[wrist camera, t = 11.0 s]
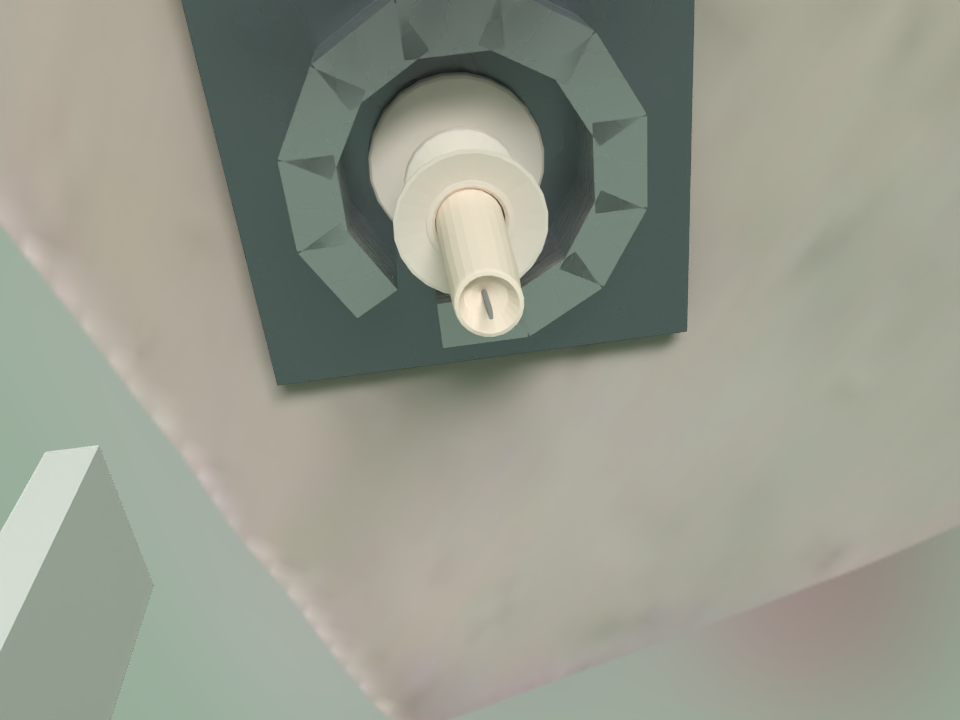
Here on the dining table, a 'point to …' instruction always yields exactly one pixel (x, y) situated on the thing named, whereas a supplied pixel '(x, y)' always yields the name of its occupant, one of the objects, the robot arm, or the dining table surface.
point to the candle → (463, 192)
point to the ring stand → (365, 225)
